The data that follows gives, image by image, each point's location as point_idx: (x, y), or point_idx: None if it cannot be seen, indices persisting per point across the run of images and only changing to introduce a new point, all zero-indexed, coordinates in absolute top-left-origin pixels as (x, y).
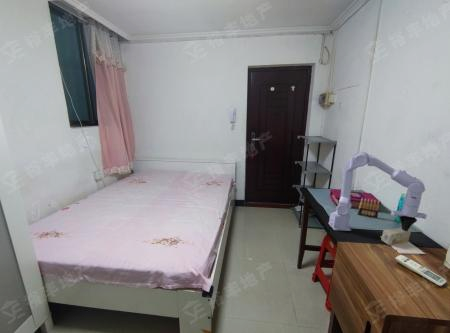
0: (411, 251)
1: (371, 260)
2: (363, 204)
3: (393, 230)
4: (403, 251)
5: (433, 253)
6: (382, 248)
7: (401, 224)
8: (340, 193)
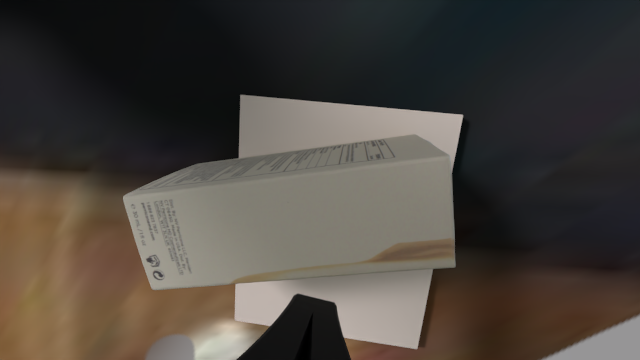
0: None
1: (18, 346)
2: None
3: (234, 223)
4: (267, 312)
5: (505, 336)
6: None
7: (266, 331)
8: None
